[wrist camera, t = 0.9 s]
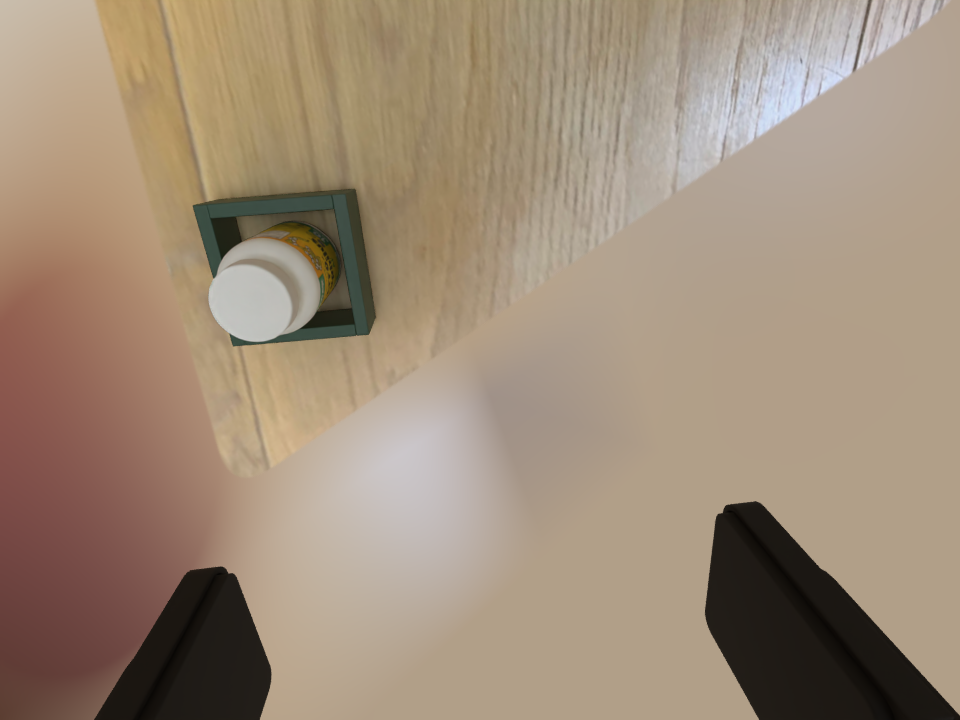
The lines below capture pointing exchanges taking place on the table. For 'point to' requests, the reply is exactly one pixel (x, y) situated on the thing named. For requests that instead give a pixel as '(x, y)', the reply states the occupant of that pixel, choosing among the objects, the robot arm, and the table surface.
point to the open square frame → (224, 235)
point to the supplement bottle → (274, 281)
